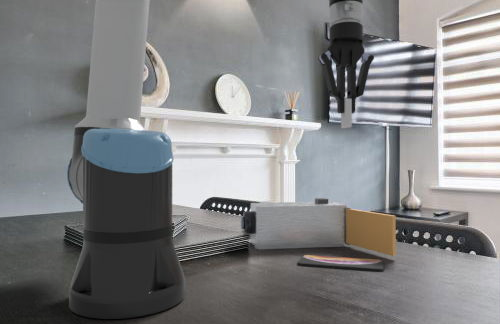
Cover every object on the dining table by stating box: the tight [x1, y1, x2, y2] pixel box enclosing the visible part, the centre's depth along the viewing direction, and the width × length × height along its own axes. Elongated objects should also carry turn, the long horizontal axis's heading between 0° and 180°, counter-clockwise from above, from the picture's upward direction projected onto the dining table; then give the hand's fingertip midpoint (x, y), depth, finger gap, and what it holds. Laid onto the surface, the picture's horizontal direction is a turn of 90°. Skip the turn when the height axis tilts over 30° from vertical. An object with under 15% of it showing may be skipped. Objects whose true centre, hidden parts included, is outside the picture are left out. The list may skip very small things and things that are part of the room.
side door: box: [346, 206, 397, 257], centre depth 82 cm, size 14×2×8 cm, turn 27°
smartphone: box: [296, 254, 385, 273], centre depth 73 cm, size 8×1×15 cm
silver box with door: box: [240, 197, 348, 250], centre depth 90 cm, size 23×8×10 cm, turn 98°
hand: (346, 127), depth 93 cm, fingers closed
